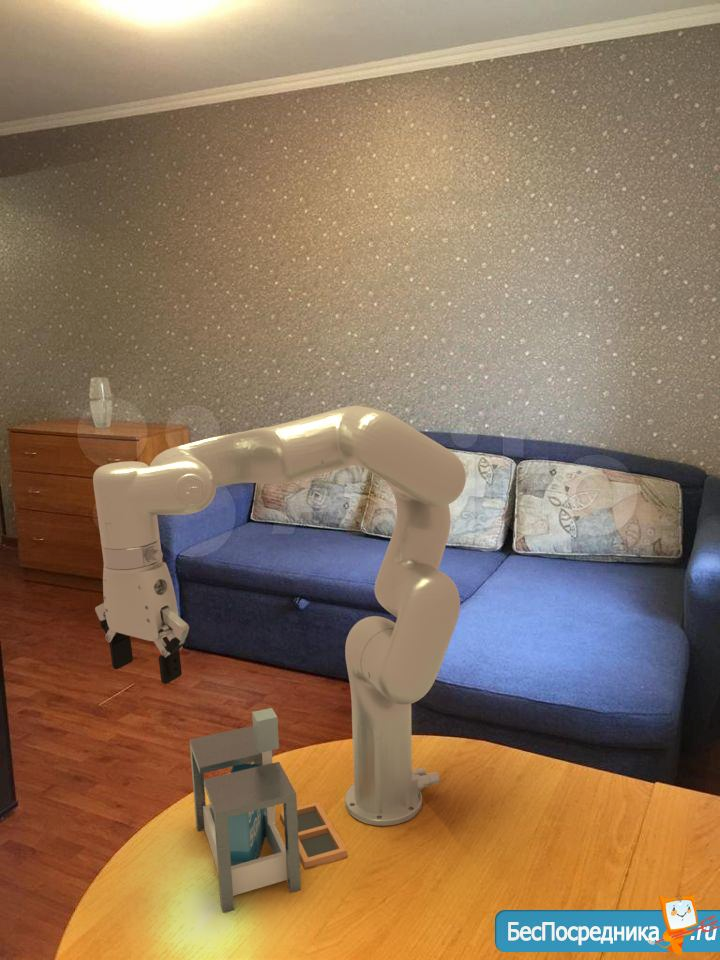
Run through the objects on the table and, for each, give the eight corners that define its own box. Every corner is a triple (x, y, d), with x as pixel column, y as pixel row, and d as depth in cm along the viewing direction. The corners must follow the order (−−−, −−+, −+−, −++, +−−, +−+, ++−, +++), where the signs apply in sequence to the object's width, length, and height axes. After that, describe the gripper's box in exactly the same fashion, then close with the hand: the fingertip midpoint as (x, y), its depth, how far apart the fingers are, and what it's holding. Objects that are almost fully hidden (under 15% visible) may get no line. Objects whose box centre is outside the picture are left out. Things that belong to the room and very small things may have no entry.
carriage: (267, 812, 125) (260, 689, 121) (297, 876, 111) (290, 738, 106) (204, 829, 122) (194, 702, 117) (226, 897, 107) (216, 755, 103)
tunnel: (263, 808, 127) (258, 724, 124) (301, 889, 109) (296, 793, 106) (196, 825, 123) (189, 739, 120) (223, 913, 105) (215, 813, 102)
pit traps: (318, 808, 127) (318, 801, 127) (346, 857, 115) (346, 850, 115) (280, 818, 125) (279, 811, 124) (305, 869, 113) (304, 862, 113)
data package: (251, 883, 110) (246, 807, 108) (219, 882, 110) (214, 806, 108) (268, 829, 122) (264, 759, 119) (240, 828, 122) (235, 759, 120)
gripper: (199, 554, 103) (211, 673, 106) (111, 539, 112) (125, 650, 116) (156, 571, 97) (171, 697, 100) (67, 554, 106) (84, 670, 109)
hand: (147, 672), depth 108 cm, fingers open, 9 cm apart
